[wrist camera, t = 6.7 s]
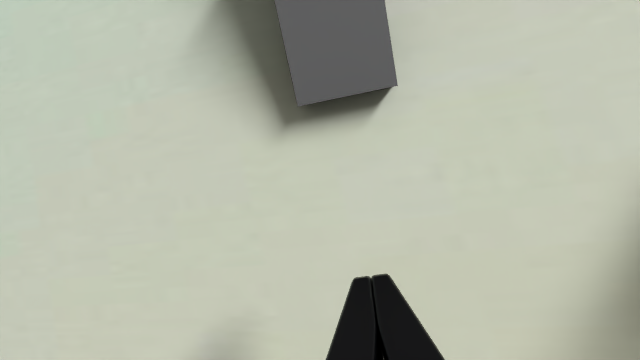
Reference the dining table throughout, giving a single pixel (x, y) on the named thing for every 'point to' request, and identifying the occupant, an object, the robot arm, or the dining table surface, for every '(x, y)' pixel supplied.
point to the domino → (336, 47)
